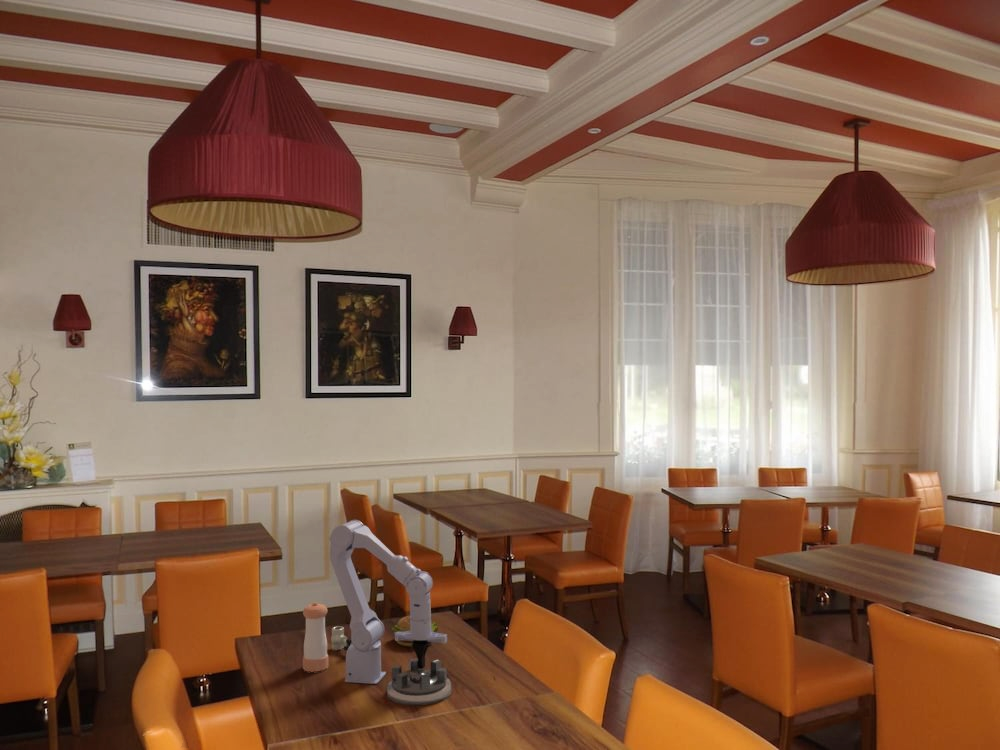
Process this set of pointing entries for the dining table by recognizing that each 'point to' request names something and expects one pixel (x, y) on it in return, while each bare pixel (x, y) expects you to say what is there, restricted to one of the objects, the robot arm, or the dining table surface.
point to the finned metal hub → (419, 678)
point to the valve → (339, 639)
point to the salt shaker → (315, 638)
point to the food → (408, 629)
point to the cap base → (418, 696)
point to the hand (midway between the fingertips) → (421, 667)
